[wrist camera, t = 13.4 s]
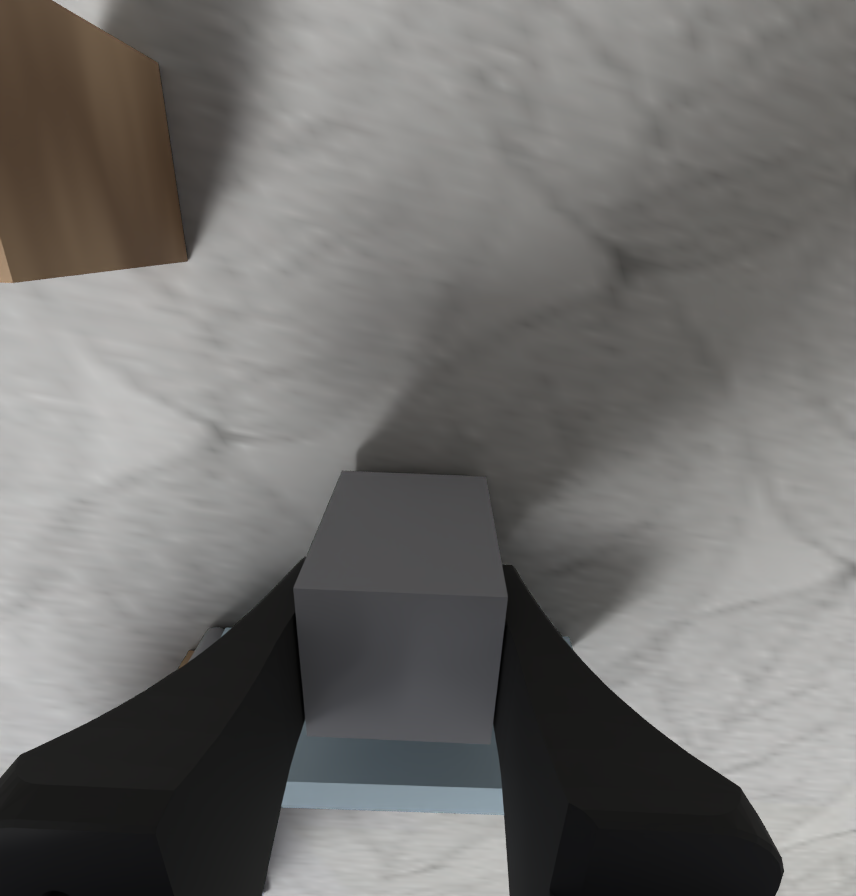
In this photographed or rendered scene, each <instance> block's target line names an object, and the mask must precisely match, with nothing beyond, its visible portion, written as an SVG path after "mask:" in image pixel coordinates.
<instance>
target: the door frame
mask: <svg viewBox="0 0 856 896" xmlns="http://www.w3.org/2000/svg"><path fill="white" fill-rule="evenodd" d="M186 261H188V259H187V253H186V246H185V239H184V233H183V226H182V219H181V213H180V206H179V199H178V192H177V186H176V179H175V172H174V166H173V159H172V152H171V146H170V139H169V132H168V125H167V119H166V112H165V105H164V99H163V92H162V85H161V79H160V72H159V65H158V63H157V62H156V61H154V60H152V59H151V58H149V57H147V56H146V55H144V54H142V53H140V52H139V51H137V50H135V49H134V48H132V47H130V46H129V45H127V44H125V43H123V42H122V41H120V40H118V39H117V38H115V37H113V36H112V35H110V34H108V33H106V32H105V31H103V30H101V29H100V28H98V27H96V26H95V25H93V24H91V23H89V22H88V21H86V20H84V19H83V18H81V17H79V16H78V15H76V14H74V13H73V12H71V11H69V10H67V9H66V8H64V7H62V6H61V5H59V4H57V3H56V2H54V1H52V0H0V282H4V283H16V282H24V281H32V280H40V279H48V278H56V277H64V276H73V275H81V274H89V273H97V272H105V271H113V270H121V269H129V268H137V267H146V266H154V265H162V264H170V263H178V262H186ZM193 653H194V651H190V650H189V651H188V653H187V655H186V656H185V658H184V660H183V661H182V663H181V665H180V666H179V668H181V667H182V666H184V665H185V664H187V663H188V662H189V660H190V658H191V656H192V655H193ZM179 668H178V669H179Z"/></svg>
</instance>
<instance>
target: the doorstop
mask: <svg viewBox="0 0 856 896" xmlns="http://www.w3.org/2000/svg"><path fill="white" fill-rule="evenodd" d="M293 592H294V602H295V613H296V624H297V635H298V645H299V656H300V667H301V678H302V688H303V699H304V710H305V721H306V731H307V736H312V737H335V738H357V739H379V740H401V741H423V742H445V743H467V744H491V736H492V728H493V719H494V711H495V702H496V694H497V686H498V677H499V669H500V660H501V652H502V643H503V635H504V627H505V618H506V610H507V601H508V595H507V589H506V584H505V578H504V573H503V567H502V562H501V556H500V551H499V545H498V539H497V534H496V528H495V523H494V517H493V512H492V506H491V501H490V495H489V490H488V484H487V479H486V476H461V475H436V474H410V473H385V472H360V471H342V472H341V475H340V477H339V479H338V482H337V484H336V487H335V489H334V491H333V494H332V496H331V499H330V501H329V503H328V506H327V508H326V511H325V513H324V515H323V518H322V520H321V523H320V525H319V527H318V530H317V532H316V535H315V537H314V540H313V542H312V544H311V547H310V549H309V552H308V554H307V556H306V559H305V561H304V564H303V566H302V568H301V571H300V573H299V576H298V578H297V580H296V583H295V585H294V588H293Z"/></svg>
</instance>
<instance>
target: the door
mask: <svg viewBox="0 0 856 896" xmlns="http://www.w3.org/2000/svg"><path fill="white" fill-rule="evenodd" d="M230 629H231V628H225V629H223V628H219V627H214V628H210V629H208V630H207V631H206V633H205V634H204V636H203V638H202V639H201V641H200V643H199V645H198V646H197V648H196V650H195V651H194V653H193V655H192V656H191V658H190V660H189V661H191V660H192V659H194V658H195V657H196V656H198V655H199V654H200V653H202V652H203V651H204V650H206V649H207V648H208V647H209V646H211V645H212V644H213V643H214V642H216V641H217V640H218V639H219V638H221V637H222V636H223V635H224V634H225V633H226V632H228V631H229V630H230ZM563 639H564V640H565V641H566V642H567V643H568V645H569V646H570V647H571V648H572V645H571V642H570V639H569V637H563ZM572 649H573V648H572ZM281 807H283V808H313V809H342V810H372V811H401V812H431V813H461V814H490V815H504V807H503V794H502V782H501V772H500V764H499V757H498V750H497V745H496V739H495V733H494V727H493V728H492V736H491V744H467V743H445V742H423V741H401V740H379V739H357V738H335V737H312V736H307V731H306V721H305V722H304V725H303V728H302V731H301V734H300V737H299V740H298V743H297V746H296V749H295V753H294V756H293V760H292V763H291V766H290V771H289V775H288V779H287V784H286V788H285V792H284V796H283V801H282V805H281Z"/></svg>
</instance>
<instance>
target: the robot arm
mask: <svg viewBox="0 0 856 896" xmlns="http://www.w3.org/2000/svg"><path fill="white" fill-rule="evenodd" d="M305 559H306V557H304V558H303V559H302V560H300V561H299V563H298V564H297V565H296V566H295V567H294V568H293V569H292V570H291V571H290V572H289V573H288V574H287V575H286V576H285V577H284V578H283V579H282V580H281V581H280V583H279V584H278V585H277V586H276V587H275V588H274V589H273V590H272V591H271V592H270V593H269V594H268V595H267V596H266V597H265V598H264V599H263V600H261V601H260V602H259V603H258V604H257V605H256V606H255V607H254V608H253V609H252V610H251V611H250V612H249V613H248V614H247V615H246V616H245V617H243V618H242V619H241V620H240V621H239V622H238V623H237V624H236V625H234V626H233V627H232V628H231V629H230V630H229V631H228V632H226V633H225V634H224V635H223V636H222V637H221V638H219V639H218V640H217V641H216V642H214V643H213V644H212V645H211V646H209V647H208V648H207V649H206V650H204V651H203V652H202V653H200V654H199V655H198V656H196V657H195V658H194V659H192V660H191V661H189V662H188V663H187V664H185V665H184V666H182V667H181V668H179V669H178V670H176V671H175V672H173V673H172V674H170V675H168V676H167V677H165V678H164V679H162V680H161V681H159V682H158V683H156V684H155V685H153V686H152V687H150V688H148V689H147V690H145V691H144V692H142V693H140V694H139V695H137V696H135V697H134V698H132V699H130V700H128V701H127V702H125V703H123V704H121V705H120V706H118V707H116V708H114V709H112V710H111V711H109V712H107V713H105V714H103V715H101V716H100V717H98V718H96V719H94V720H92V721H90V722H88V723H86V724H84V725H82V726H80V727H78V728H76V729H74V730H72V731H70V732H68V733H66V734H64V735H62V736H59V737H57V738H55V739H53V740H51V741H49V742H47V743H45V744H43V745H41V746H38V747H36V748H34V749H32V750H30V751H28V752H25V753H23V754H21V755H20V756H19V757H18V758H17V759H16V760H15V761H14V763H13V764H12V765H11V766H10V767H9V768H8V770H7V771H6V772H5V773H4V774H3V775H2V776H1V778H0V896H264V895H263V889H264V884H265V879H266V874H267V869H268V864H269V860H270V855H271V850H272V846H273V841H274V837H275V832H276V828H277V823H278V818H279V814H280V809H281V805H282V801H283V796H284V792H285V788H286V784H287V779H288V775H289V771H290V766H291V763H292V760H293V756H294V753H295V749H296V746H297V743H298V740H299V737H300V734H301V731H302V728H303V725H304V722H305V710H304V699H303V688H302V678H301V667H300V656H299V645H298V635H297V624H296V613H295V602H294V592H293V588H294V585H295V583H296V580H297V578H298V576H299V573H300V571H301V568H302V566H303V564H304V561H305ZM502 567H503V573H504V578H505V584H506V589H507V595H508V601H507V610H506V618H505V627H504V635H503V643H502V652H501V660H500V669H499V677H498V686H497V694H496V702H495V711H494V719H493V727H494V733H495V739H496V745H497V750H498V757H499V764H500V772H501V782H502V794H503V807H504V820H505V834H506V848H507V862H508V876H509V893H510V896H775V895H776V893H777V891H778V889H779V886H780V883H781V879H782V876H783V873H784V868H783V863H782V857H781V856H780V854H779V852H778V850H777V848H776V846H775V845H774V843H773V841H772V839H771V837H770V835H769V833H768V831H767V830H766V828H765V826H764V824H763V823H762V821H761V819H760V818H759V816H758V814H757V813H756V811H755V810H754V808H753V807H752V805H751V804H750V802H749V801H748V799H747V798H746V796H745V794H744V793H743V791H742V789H741V788H740V787H739V786H738V785H736V784H735V783H733V782H732V781H730V780H728V779H727V778H725V777H724V776H722V775H721V774H719V773H718V772H716V771H715V770H713V769H712V768H710V767H709V766H707V765H706V764H704V763H703V762H701V761H700V760H698V759H697V758H695V757H694V756H692V755H691V754H689V753H688V752H687V751H685V750H684V749H682V748H681V747H680V746H678V745H677V744H676V743H674V742H673V741H672V740H670V739H669V738H668V737H667V736H665V735H664V734H663V733H661V732H660V731H659V730H657V729H656V728H655V727H653V726H652V725H651V724H650V723H649V722H647V721H646V720H645V719H644V718H642V717H641V716H640V715H639V714H638V713H637V712H635V711H634V710H633V709H632V708H631V707H630V706H629V705H627V704H626V703H625V702H624V701H623V700H622V699H620V698H619V697H618V696H617V695H616V694H615V693H614V692H613V691H612V690H610V689H609V688H608V687H607V686H606V685H605V684H604V683H603V682H602V681H601V680H600V679H599V678H598V677H597V676H596V675H595V674H594V673H593V672H592V671H591V670H590V668H589V667H588V666H587V665H586V664H585V663H584V662H583V661H582V660H581V659H580V657H579V656H578V655H577V654H576V653H575V652H574V651H573V649H572V648H571V647H570V646H569V645H568V643H567V642H566V641H565V640H564V639H563V637H562V636H561V635H560V634H559V632H558V631H557V630H556V629H555V627H554V626H553V625H552V623H551V622H550V620H549V619H548V618H547V616H546V615H545V614H544V612H543V611H542V610H541V608H540V607H539V605H538V604H537V602H536V601H535V600H534V598H533V597H532V595H531V594H530V592H529V590H528V589H527V587H526V586H525V584H524V583H523V581H522V579H521V578H520V576H519V574H518V573H517V571H516V569H515V568H514V567H513V566H512V565H502Z"/></svg>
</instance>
